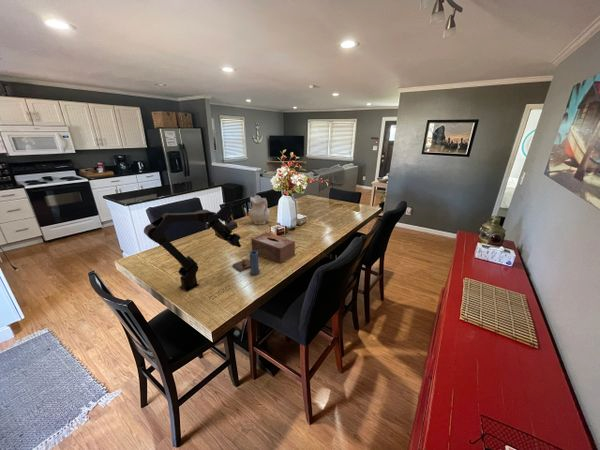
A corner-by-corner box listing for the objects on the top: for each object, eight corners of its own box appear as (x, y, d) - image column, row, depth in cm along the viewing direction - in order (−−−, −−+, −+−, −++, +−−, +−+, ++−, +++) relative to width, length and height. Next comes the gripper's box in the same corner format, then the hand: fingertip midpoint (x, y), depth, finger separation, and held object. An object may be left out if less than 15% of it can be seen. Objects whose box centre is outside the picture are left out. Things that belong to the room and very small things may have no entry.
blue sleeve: (255, 275, 134) (253, 255, 130) (249, 273, 137) (247, 252, 132) (260, 272, 138) (259, 251, 134) (254, 269, 140) (253, 249, 136)
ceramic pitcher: (276, 223, 221) (276, 196, 214) (262, 227, 205) (262, 199, 198) (258, 219, 232) (258, 193, 225) (244, 223, 216) (243, 196, 209)
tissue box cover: (252, 251, 163) (251, 238, 159) (266, 244, 173) (266, 232, 170) (280, 263, 148) (280, 248, 145) (294, 254, 159) (294, 240, 156)
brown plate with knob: (240, 271, 138) (239, 265, 137) (232, 265, 145) (232, 259, 143) (255, 265, 145) (254, 259, 143) (247, 260, 151) (246, 254, 149)
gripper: (238, 220, 125) (254, 238, 135) (220, 213, 137) (236, 229, 148) (224, 236, 121) (241, 253, 132) (207, 227, 133) (224, 243, 144)
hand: (236, 244), depth 139 cm, fingers open, 9 cm apart
